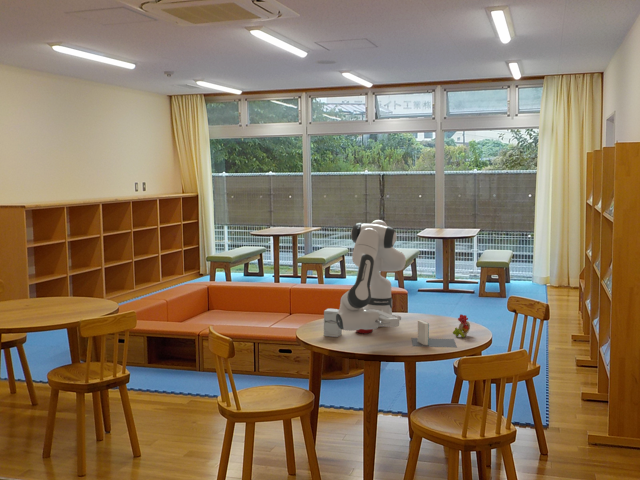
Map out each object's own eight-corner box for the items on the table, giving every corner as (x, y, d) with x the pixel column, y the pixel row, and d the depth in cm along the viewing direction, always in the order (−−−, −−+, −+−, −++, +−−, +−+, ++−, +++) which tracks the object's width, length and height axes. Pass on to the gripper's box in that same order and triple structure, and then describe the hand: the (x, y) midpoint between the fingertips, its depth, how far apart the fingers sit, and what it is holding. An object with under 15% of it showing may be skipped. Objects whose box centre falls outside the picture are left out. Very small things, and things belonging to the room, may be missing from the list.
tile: (424, 345, 302) (425, 323, 301) (417, 341, 309) (417, 320, 308) (428, 344, 303) (428, 323, 302) (421, 341, 309) (421, 320, 308)
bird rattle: (459, 338, 327) (449, 333, 321) (465, 317, 329) (455, 312, 323) (470, 341, 322) (459, 336, 316) (476, 319, 324) (466, 314, 318)
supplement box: (323, 336, 322) (323, 310, 321) (328, 333, 329) (328, 308, 328) (337, 337, 319) (337, 311, 318) (342, 334, 326) (342, 309, 325)
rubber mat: (412, 347, 300) (412, 346, 300) (411, 339, 316) (411, 337, 316) (457, 348, 298) (457, 347, 298) (453, 340, 314) (453, 339, 314)
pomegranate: (358, 335, 324) (357, 317, 323) (351, 331, 334) (351, 312, 333) (376, 334, 327) (376, 315, 326) (370, 329, 337) (369, 311, 336)
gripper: (381, 316, 286) (410, 314, 290) (363, 308, 305) (390, 307, 310) (381, 331, 286) (409, 329, 291) (363, 322, 306) (390, 320, 310)
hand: (399, 317), depth 300 cm, fingers closed
